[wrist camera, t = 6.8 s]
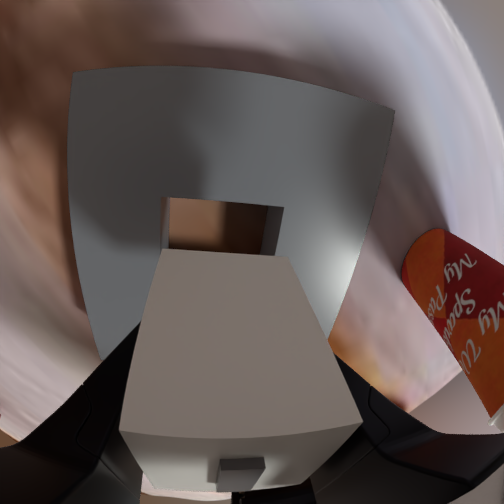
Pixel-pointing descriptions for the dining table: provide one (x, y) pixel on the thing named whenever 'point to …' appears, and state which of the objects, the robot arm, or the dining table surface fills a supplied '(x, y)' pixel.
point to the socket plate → (215, 176)
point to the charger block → (232, 377)
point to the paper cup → (463, 308)
